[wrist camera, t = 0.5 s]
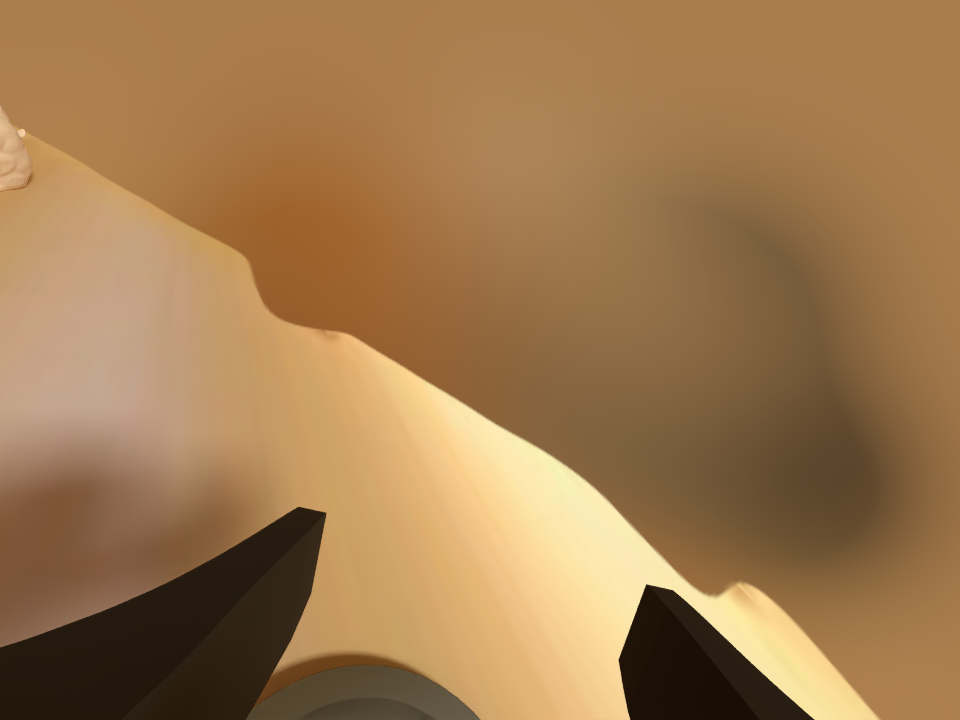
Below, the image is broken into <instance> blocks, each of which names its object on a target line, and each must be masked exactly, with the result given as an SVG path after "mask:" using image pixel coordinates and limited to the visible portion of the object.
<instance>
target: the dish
mask: <svg viewBox="0 0 960 720" xmlns="http://www.w3.org/2000/svg"><path fill="white" fill-rule="evenodd" d="M246 720H480V719H479V718H478V716H477V715H476V714H475V713H474V712H473V711H472V710H471V709H470V708H469V707H468V706H466V705H465V704H464V703H463V702H462V701H461V700H460V699H459V698H458V697H456V696H455V695H453V694H452V693H450V692H449V691H448V690H446V689H445V688H443V687H442V686H440V685H438V684H437V683H435V682H433V681H431V680H429V679H427V678H425V677H423V676H420V675H418V674H415V673H412V672H409V671H406V670H403V669H398V668H393V667H388V666H379V665H355V666H344V667H340V668H335V669H331V670H326V671H322V672H320V673H317V674H314V675H311V676H309V677H306V678H303V679H301V680H299V681H297V682H295V683H293V684H291V685H289V686H287V687H285V688H283V689H281V690H279V691H278V692H276V693H275V694H273V695H272V696H270V697H269V698H267V699H266V700H264V701H263V702H261V703H260V704H258V705H257V706H256V707H255V708H253V709H252V710H251V712H250V713H249V715H248V717H247V719H246Z"/></svg>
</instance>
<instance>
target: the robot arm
mask: <svg viewBox="0 0 960 720" xmlns="http://www.w3.org/2000/svg"><path fill="white" fill-rule="evenodd" d="M325 518H326V513H324V512H320V511H315V510H311V509H306V508H302V507H297V508H296V509H294V510H292V511H291V512H289V513H287V514H286V515H284V516H283V517H281V518H279V519H278V520H276V521H275V522H273V523H271V524H270V525H268V526H267V527H265V528H264V529H262V530H260V531H259V532H257V533H256V534H254V535H252V536H251V537H249V538H247V539H246V540H244V541H242V542H241V543H239V544H237V545H236V546H234V547H232V548H231V549H229V550H227V551H226V552H224V553H222V554H220V555H219V556H217V557H215V558H213V559H212V560H210V561H208V562H206V563H204V564H202V565H200V566H198V567H197V568H195V569H193V570H191V571H189V572H187V573H185V574H184V575H182V576H180V577H178V578H176V579H174V580H172V581H170V582H168V583H166V584H164V585H162V586H159V587H157V588H155V589H153V590H151V591H149V592H146V593H144V594H142V595H140V596H137V597H135V598H133V599H130V600H128V601H126V602H124V603H121V604H119V605H117V606H114V607H112V608H109V609H107V610H105V611H102V612H99V613H97V614H94V615H91V616H89V617H86V618H83V619H81V620H78V621H75V622H72V623H70V624H67V625H64V626H62V627H59V628H56V629H54V630H51V631H48V632H46V633H43V634H40V635H37V636H35V637H32V638H29V639H26V640H23V641H20V642H17V643H14V644H10V645H7V646H4V647H1V648H0V720H246V719H247V717H248V715H249V713H250V712H251V710H252V708H253V706H254V705H255V703H256V701H257V699H258V698H259V696H260V694H261V692H262V691H263V689H264V687H265V685H266V684H267V682H268V680H269V678H270V677H271V675H272V673H273V671H274V669H275V668H276V666H277V664H278V662H279V661H280V659H281V657H282V655H283V653H284V652H285V650H286V648H287V646H288V644H289V643H290V641H291V639H292V637H293V634H294V632H295V630H296V627H297V625H298V623H299V621H300V618H301V616H302V614H303V611H304V609H305V607H306V604H307V602H308V600H309V597H310V595H311V591H312V586H313V581H314V576H315V570H316V565H317V560H318V555H319V549H320V544H321V539H322V534H323V528H324V523H325ZM619 665H620V671H621V677H622V683H623V689H624V694H625V699H626V704H627V709H628V713H629V716H630V720H814V719H813V718H812V717H811V716H809V715H808V714H807V713H806V712H805V711H804V710H803V709H802V708H800V707H799V706H798V705H797V704H796V703H795V702H794V701H792V700H791V699H790V698H789V697H788V696H787V695H786V694H784V693H783V692H782V691H781V690H780V689H779V688H778V687H777V686H776V685H774V684H773V683H772V682H771V681H770V680H769V679H768V678H767V677H766V676H765V675H764V674H762V673H761V672H760V671H759V670H758V669H757V668H756V667H755V666H754V665H753V664H752V663H751V662H750V661H749V660H748V659H746V658H745V657H744V656H743V655H742V654H741V653H740V652H739V651H738V650H737V649H736V648H735V647H734V646H733V645H732V644H731V643H730V642H729V641H728V640H727V639H725V638H724V637H723V636H722V635H721V634H720V633H719V632H718V631H717V630H716V629H715V628H714V627H713V626H712V625H711V624H710V623H709V622H708V621H707V620H706V619H705V618H704V617H702V616H701V615H700V614H699V613H698V612H697V611H696V610H695V609H694V608H693V607H692V606H691V605H689V604H688V603H687V602H686V601H685V600H684V599H683V598H682V597H680V596H679V595H678V594H677V593H675V592H674V591H673V590H669V589H665V588H660V587H656V586H651V585H647V584H646V587H645V589H644V592H643V595H642V598H641V600H640V603H639V606H638V608H637V611H636V614H635V617H634V619H633V622H632V625H631V628H630V630H629V633H628V636H627V638H626V641H625V644H624V647H623V649H622V652H621V655H620V658H619Z"/></svg>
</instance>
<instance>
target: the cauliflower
mask: <svg viewBox="0 0 960 720" xmlns="http://www.w3.org/2000/svg"><path fill="white" fill-rule="evenodd" d="M25 136H26V134H25V131H24V129H20V130H18V131H16V130H15V128H14V127H13V125H11V123H10V121H9V118H8V117H7V115H6V113H5V111H4V110H3V108H2V106H1V105H0V191H5V190H12V189H19V188H23V187H25V186H27V183H28V180H29V178H30V176H31V174H32V159H31V157H30V155H29V153H28V151H27V149H26V148H25V146H24V145H23V142H22V140H21V138H20V137H25Z"/></svg>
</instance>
